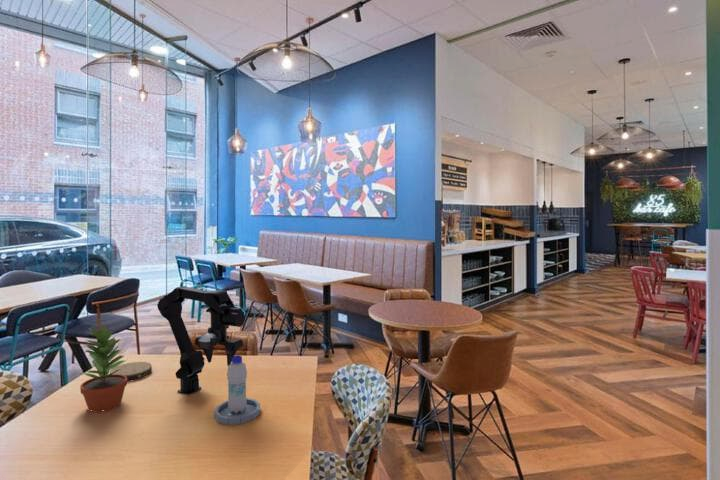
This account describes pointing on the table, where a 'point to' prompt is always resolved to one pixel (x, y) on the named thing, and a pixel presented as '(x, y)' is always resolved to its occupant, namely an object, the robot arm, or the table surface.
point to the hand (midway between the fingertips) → (219, 364)
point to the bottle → (237, 385)
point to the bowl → (232, 419)
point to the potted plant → (103, 374)
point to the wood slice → (133, 370)
